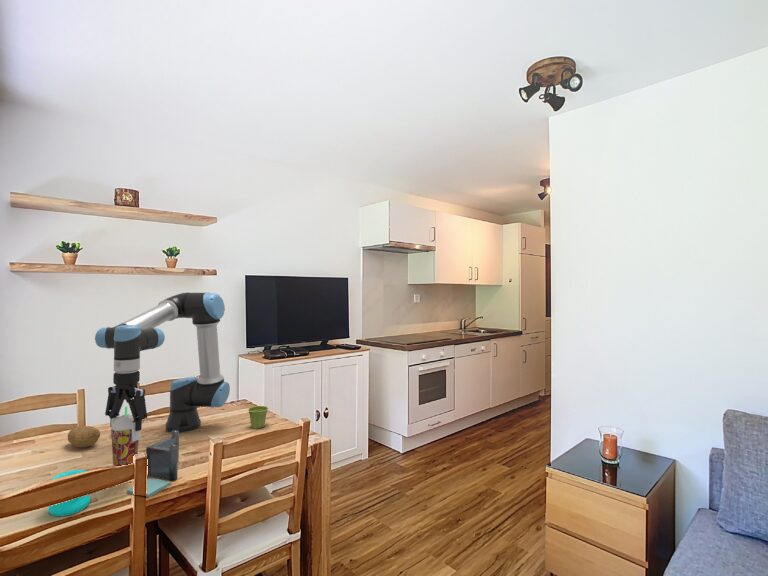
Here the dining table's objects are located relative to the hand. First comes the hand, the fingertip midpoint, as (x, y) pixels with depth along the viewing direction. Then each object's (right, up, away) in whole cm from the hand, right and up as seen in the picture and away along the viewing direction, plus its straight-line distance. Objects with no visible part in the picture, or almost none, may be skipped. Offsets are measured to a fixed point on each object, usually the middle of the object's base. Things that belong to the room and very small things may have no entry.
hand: (125, 438), depth 138 cm
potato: (-37, -15, +31) cm, 51 cm away
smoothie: (0, -10, 0) cm, 10 cm away
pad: (+10, -16, -3) cm, 19 cm away
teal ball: (-7, -16, -16) cm, 23 cm away
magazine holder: (+11, -16, +11) cm, 22 cm away
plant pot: (+27, -16, +59) cm, 66 cm away
